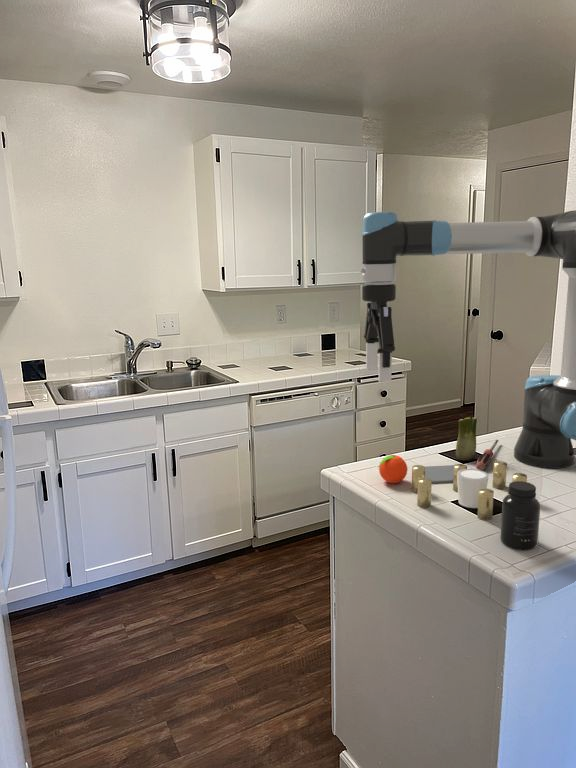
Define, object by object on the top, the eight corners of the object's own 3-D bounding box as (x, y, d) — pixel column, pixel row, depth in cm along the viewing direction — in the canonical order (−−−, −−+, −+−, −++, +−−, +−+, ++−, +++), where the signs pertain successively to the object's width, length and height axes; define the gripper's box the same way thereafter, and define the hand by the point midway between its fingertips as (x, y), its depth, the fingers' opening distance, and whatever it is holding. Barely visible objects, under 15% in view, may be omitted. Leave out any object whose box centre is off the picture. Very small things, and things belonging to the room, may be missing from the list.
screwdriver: (492, 444, 171) (492, 434, 170) (502, 445, 170) (503, 435, 169) (473, 471, 150) (474, 460, 149) (485, 473, 149) (485, 462, 148)
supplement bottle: (495, 534, 117) (498, 478, 114) (529, 534, 116) (533, 478, 114) (506, 551, 110) (510, 492, 107) (543, 551, 110) (547, 492, 107)
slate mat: (456, 467, 153) (456, 464, 153) (470, 481, 143) (470, 479, 143) (415, 469, 152) (415, 467, 152) (427, 483, 143) (427, 481, 143)
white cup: (489, 510, 128) (490, 480, 126) (456, 508, 129) (458, 478, 127) (485, 497, 134) (486, 469, 133) (454, 495, 135) (455, 467, 134)
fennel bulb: (474, 456, 160) (476, 415, 158) (478, 463, 156) (480, 420, 153) (453, 456, 161) (454, 415, 158) (456, 463, 156) (458, 420, 154)
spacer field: (506, 483, 142) (507, 460, 140) (544, 517, 124) (546, 490, 122) (406, 489, 140) (406, 465, 139) (430, 523, 122) (430, 497, 121)
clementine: (386, 490, 139) (387, 462, 138) (369, 481, 145) (370, 454, 144) (412, 484, 143) (413, 456, 141) (395, 475, 149) (395, 448, 147)
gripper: (352, 281, 143) (352, 365, 147) (374, 286, 118) (373, 387, 123) (382, 280, 143) (381, 364, 148) (410, 285, 119) (408, 386, 123)
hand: (378, 375), depth 135 cm, fingers open, 13 cm apart
